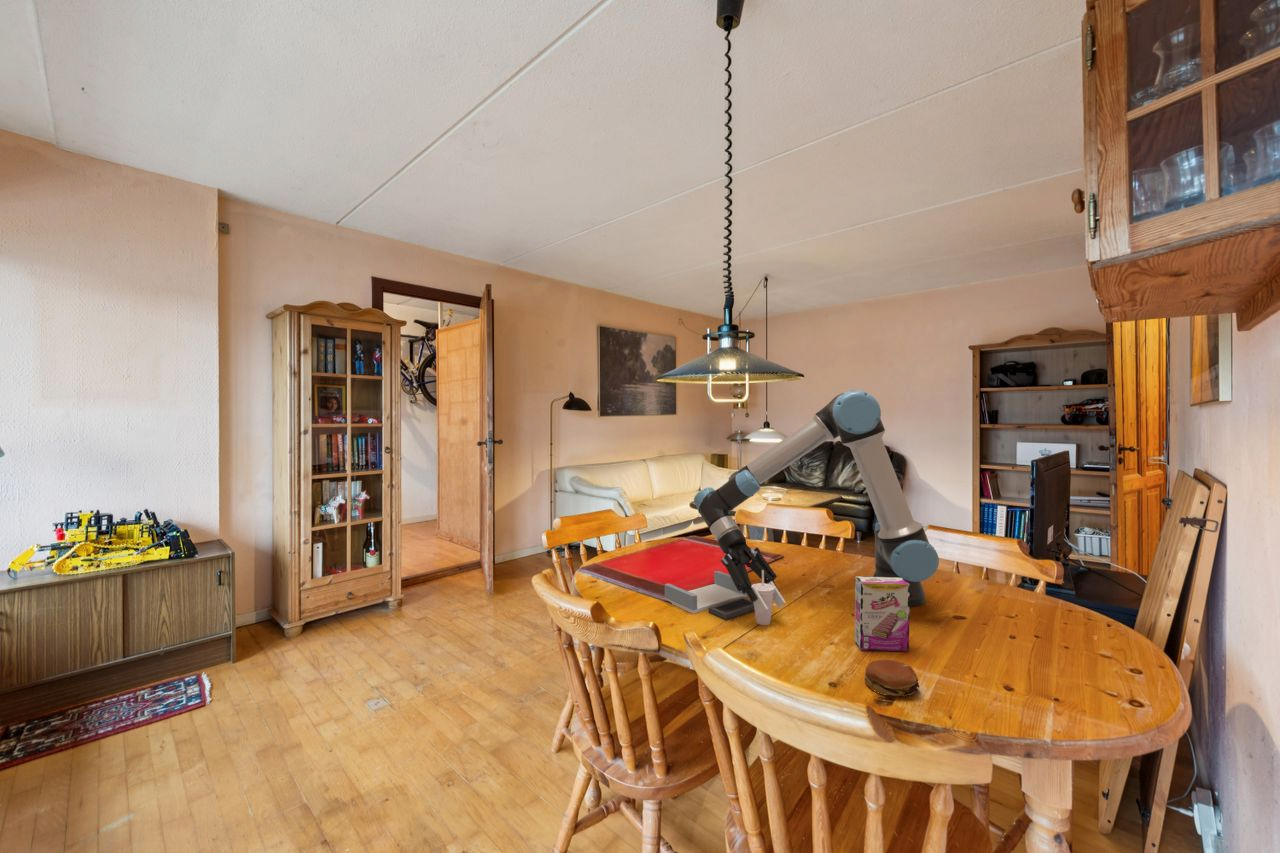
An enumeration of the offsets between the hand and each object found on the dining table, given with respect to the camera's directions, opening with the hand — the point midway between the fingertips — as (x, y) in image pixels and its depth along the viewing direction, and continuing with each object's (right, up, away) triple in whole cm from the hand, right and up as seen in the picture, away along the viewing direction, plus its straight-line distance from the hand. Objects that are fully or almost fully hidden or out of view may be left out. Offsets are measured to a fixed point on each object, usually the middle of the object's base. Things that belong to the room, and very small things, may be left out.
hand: (773, 608), depth 134 cm
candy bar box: (+23, -5, -13) cm, 26 cm away
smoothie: (-2, -5, +3) cm, 6 cm away
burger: (+16, -6, -30) cm, 35 cm away
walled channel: (-15, -5, +21) cm, 27 cm away
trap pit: (-8, -5, +12) cm, 15 cm away
